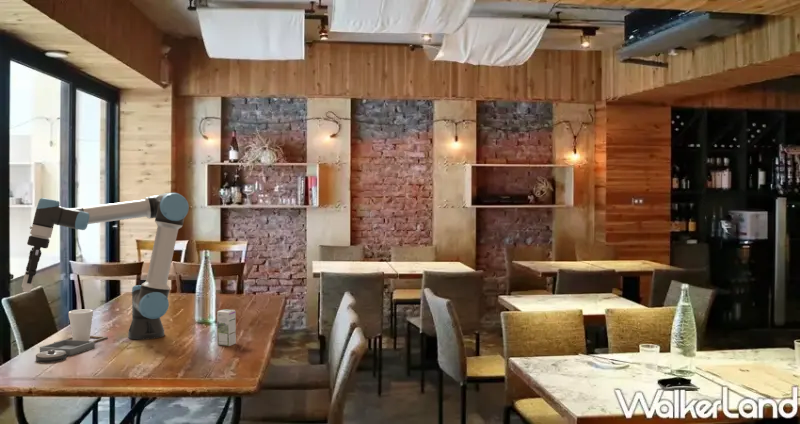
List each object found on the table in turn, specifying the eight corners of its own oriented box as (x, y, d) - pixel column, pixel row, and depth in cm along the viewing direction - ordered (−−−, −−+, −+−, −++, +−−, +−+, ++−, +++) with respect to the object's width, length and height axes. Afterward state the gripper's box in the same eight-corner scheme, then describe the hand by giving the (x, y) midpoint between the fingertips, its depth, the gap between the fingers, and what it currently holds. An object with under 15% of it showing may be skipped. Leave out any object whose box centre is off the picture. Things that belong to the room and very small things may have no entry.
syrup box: (236, 343, 298) (236, 309, 298) (228, 346, 293) (228, 311, 292) (224, 342, 300) (224, 308, 300) (216, 345, 295) (216, 311, 294)
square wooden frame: (107, 338, 307) (107, 336, 307) (84, 346, 292) (84, 344, 292) (77, 336, 310) (77, 335, 310) (53, 344, 296) (53, 342, 296)
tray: (94, 347, 289) (94, 341, 289) (70, 355, 276) (70, 349, 276) (64, 345, 293) (64, 339, 293) (39, 353, 279) (39, 347, 279)
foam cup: (83, 344, 296) (83, 313, 295) (64, 343, 297) (63, 312, 297) (97, 339, 305) (97, 309, 304) (78, 338, 307) (78, 308, 306)
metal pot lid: (72, 357, 274) (72, 347, 273) (53, 363, 263) (53, 354, 263) (49, 355, 276) (49, 346, 276) (29, 361, 266) (29, 352, 266)
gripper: (28, 233, 286) (14, 284, 284) (30, 236, 265) (16, 291, 263) (48, 237, 290) (34, 287, 288) (52, 240, 269) (37, 295, 266)
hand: (25, 289), depth 275 cm, fingers open, 13 cm apart
